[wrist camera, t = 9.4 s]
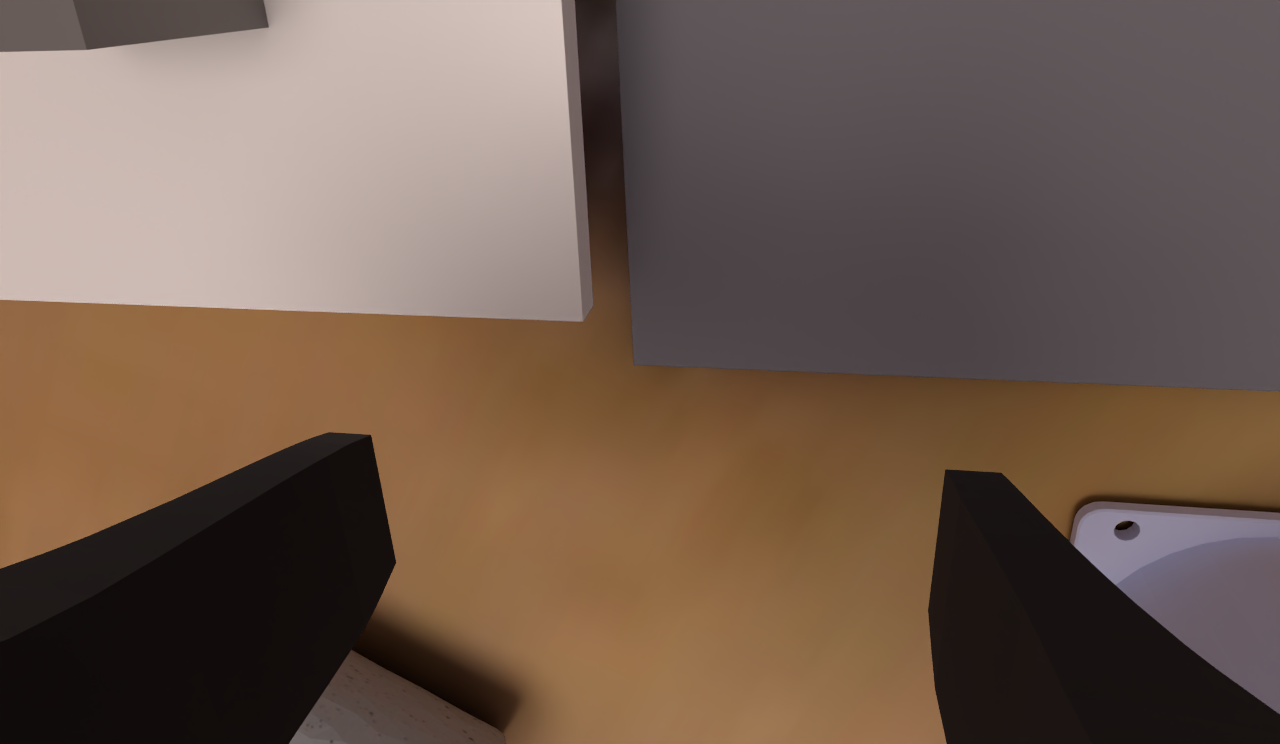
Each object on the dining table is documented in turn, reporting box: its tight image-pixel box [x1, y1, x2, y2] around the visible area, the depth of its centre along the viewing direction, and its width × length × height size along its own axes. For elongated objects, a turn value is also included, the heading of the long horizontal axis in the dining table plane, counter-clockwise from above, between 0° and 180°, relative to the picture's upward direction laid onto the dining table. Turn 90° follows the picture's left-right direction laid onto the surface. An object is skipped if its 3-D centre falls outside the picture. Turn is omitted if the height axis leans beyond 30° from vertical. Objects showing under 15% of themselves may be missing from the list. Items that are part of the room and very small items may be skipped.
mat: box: [616, 0, 1280, 392], centre depth 16 cm, size 14×14×1 cm
